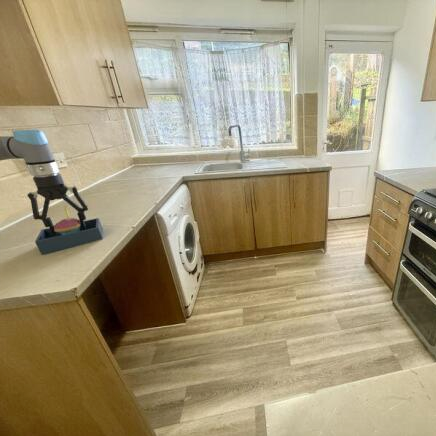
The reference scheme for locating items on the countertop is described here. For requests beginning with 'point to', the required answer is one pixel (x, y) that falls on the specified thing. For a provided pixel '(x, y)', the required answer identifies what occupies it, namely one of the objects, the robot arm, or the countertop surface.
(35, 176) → the robot arm
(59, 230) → the cupcake
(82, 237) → the bin
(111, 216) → the countertop surface
